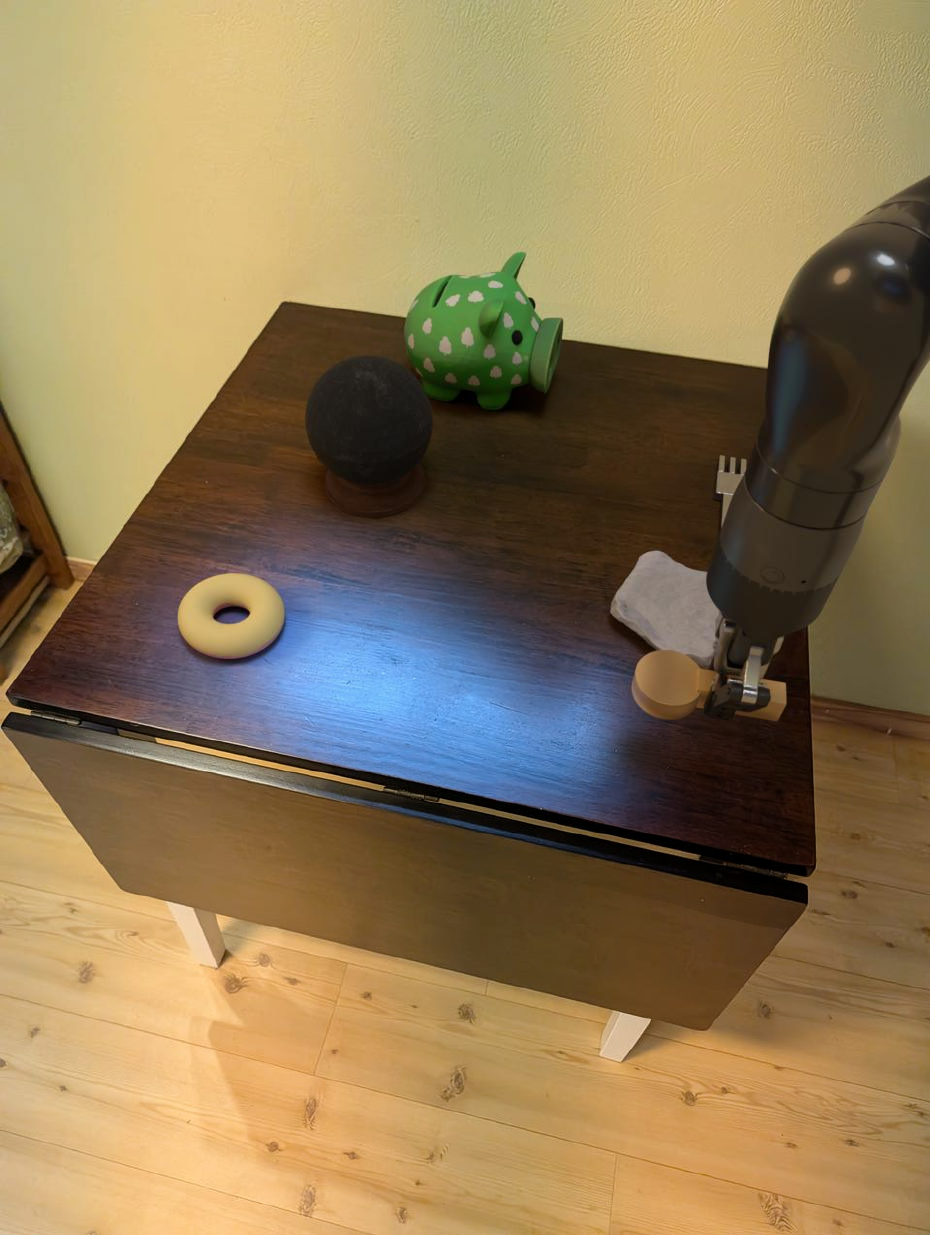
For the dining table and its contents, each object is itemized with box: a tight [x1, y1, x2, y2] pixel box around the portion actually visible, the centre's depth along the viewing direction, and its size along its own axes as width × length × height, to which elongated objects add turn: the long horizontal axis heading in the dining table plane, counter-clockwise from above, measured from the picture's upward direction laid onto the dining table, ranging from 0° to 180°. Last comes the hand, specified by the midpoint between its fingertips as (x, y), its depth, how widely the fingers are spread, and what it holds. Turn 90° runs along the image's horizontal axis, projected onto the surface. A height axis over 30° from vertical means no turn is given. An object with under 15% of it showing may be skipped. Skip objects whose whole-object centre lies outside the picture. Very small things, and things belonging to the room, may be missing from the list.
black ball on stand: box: [304, 354, 434, 519], centre depth 88 cm, size 13×13×15 cm
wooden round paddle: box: [631, 650, 787, 722], centre depth 64 cm, size 11×5×2 cm, turn 78°
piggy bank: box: [403, 251, 564, 411], centre depth 99 cm, size 14×18×15 cm
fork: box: [713, 454, 748, 536], centre depth 92 cm, size 14×3×1 cm, turn 167°
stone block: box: [609, 550, 719, 670], centre depth 81 cm, size 12×5×10 cm
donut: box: [177, 572, 286, 660], centre depth 80 cm, size 10×5×9 cm
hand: (717, 699), depth 65 cm, fingers closed on wooden round paddle, 2 cm apart
